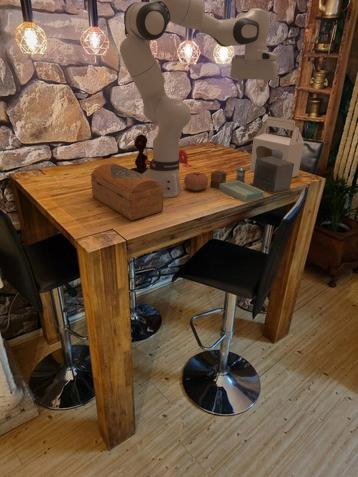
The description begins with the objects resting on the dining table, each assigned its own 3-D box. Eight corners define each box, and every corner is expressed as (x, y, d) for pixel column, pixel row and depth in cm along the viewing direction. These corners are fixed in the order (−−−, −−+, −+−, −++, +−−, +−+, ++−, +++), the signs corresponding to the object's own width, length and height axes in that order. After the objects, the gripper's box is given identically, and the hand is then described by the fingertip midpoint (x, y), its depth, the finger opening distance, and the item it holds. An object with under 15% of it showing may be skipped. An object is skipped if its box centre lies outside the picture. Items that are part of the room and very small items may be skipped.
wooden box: (166, 211, 138) (166, 176, 132) (129, 221, 128) (128, 184, 122) (125, 190, 158) (124, 159, 152) (92, 197, 149) (89, 165, 143)
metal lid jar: (239, 184, 170) (240, 170, 166) (233, 181, 173) (235, 167, 170) (245, 183, 172) (247, 169, 168) (240, 180, 175) (241, 166, 172)
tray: (244, 202, 148) (245, 195, 147) (219, 189, 162) (219, 183, 161) (264, 198, 153) (264, 191, 152) (237, 186, 167) (238, 180, 166)
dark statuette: (155, 181, 170) (155, 139, 161) (125, 181, 170) (123, 138, 161) (157, 172, 183) (157, 133, 174) (128, 172, 183) (127, 132, 174)
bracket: (173, 164, 199) (173, 150, 196) (179, 163, 202) (180, 149, 198) (187, 169, 191) (187, 154, 187) (193, 168, 194) (194, 153, 190)
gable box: (249, 170, 192) (255, 116, 179) (263, 166, 200) (271, 114, 187) (284, 180, 177) (293, 122, 165) (298, 175, 185) (308, 120, 172)
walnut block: (218, 189, 162) (219, 174, 159) (210, 187, 165) (211, 172, 162) (225, 187, 165) (226, 172, 162) (216, 184, 168) (218, 170, 165)
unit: (273, 195, 157) (277, 166, 151) (249, 184, 169) (252, 158, 164) (292, 191, 163) (297, 163, 157) (268, 181, 175) (272, 155, 169)
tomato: (209, 187, 165) (210, 170, 161) (204, 194, 156) (205, 177, 152) (187, 184, 167) (188, 168, 164) (181, 191, 158) (181, 174, 155)
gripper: (228, 54, 149) (226, 90, 155) (276, 55, 139) (271, 92, 146) (235, 54, 154) (232, 89, 160) (281, 55, 144) (276, 91, 150)
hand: (251, 90), depth 153 cm, fingers open, 8 cm apart
